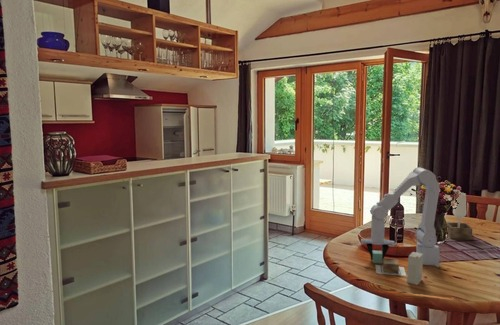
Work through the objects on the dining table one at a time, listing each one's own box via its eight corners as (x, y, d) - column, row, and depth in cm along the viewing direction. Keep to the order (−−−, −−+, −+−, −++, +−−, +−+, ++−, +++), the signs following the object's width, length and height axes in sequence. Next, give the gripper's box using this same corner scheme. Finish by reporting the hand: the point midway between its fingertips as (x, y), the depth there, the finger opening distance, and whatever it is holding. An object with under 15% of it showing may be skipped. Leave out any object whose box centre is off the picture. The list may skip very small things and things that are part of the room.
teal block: (381, 261, 177) (381, 250, 176) (382, 264, 173) (382, 254, 172) (372, 260, 178) (372, 250, 178) (372, 264, 174) (372, 253, 174)
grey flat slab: (403, 268, 169) (403, 267, 168) (406, 277, 160) (406, 275, 160) (375, 266, 172) (375, 264, 171) (376, 274, 163) (376, 272, 163)
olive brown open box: (466, 233, 215) (466, 223, 214) (471, 239, 204) (472, 228, 204) (445, 232, 217) (446, 222, 216) (450, 238, 207) (450, 227, 206)
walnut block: (396, 267, 168) (397, 259, 167) (398, 273, 162) (398, 264, 161) (382, 266, 169) (382, 258, 169) (383, 272, 164) (383, 263, 163)
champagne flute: (451, 236, 209) (453, 194, 206) (451, 233, 215) (453, 191, 212) (465, 238, 206) (468, 195, 203) (465, 234, 212) (467, 192, 209)
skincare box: (411, 278, 159) (412, 251, 157) (422, 281, 156) (423, 253, 154) (406, 284, 154) (407, 255, 152) (417, 287, 151) (419, 258, 150)
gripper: (393, 229, 176) (392, 257, 177) (361, 227, 179) (360, 255, 181) (395, 234, 169) (394, 263, 171) (361, 232, 173) (360, 260, 174)
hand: (377, 259), depth 175 cm, fingers closed on teal block, 4 cm apart
